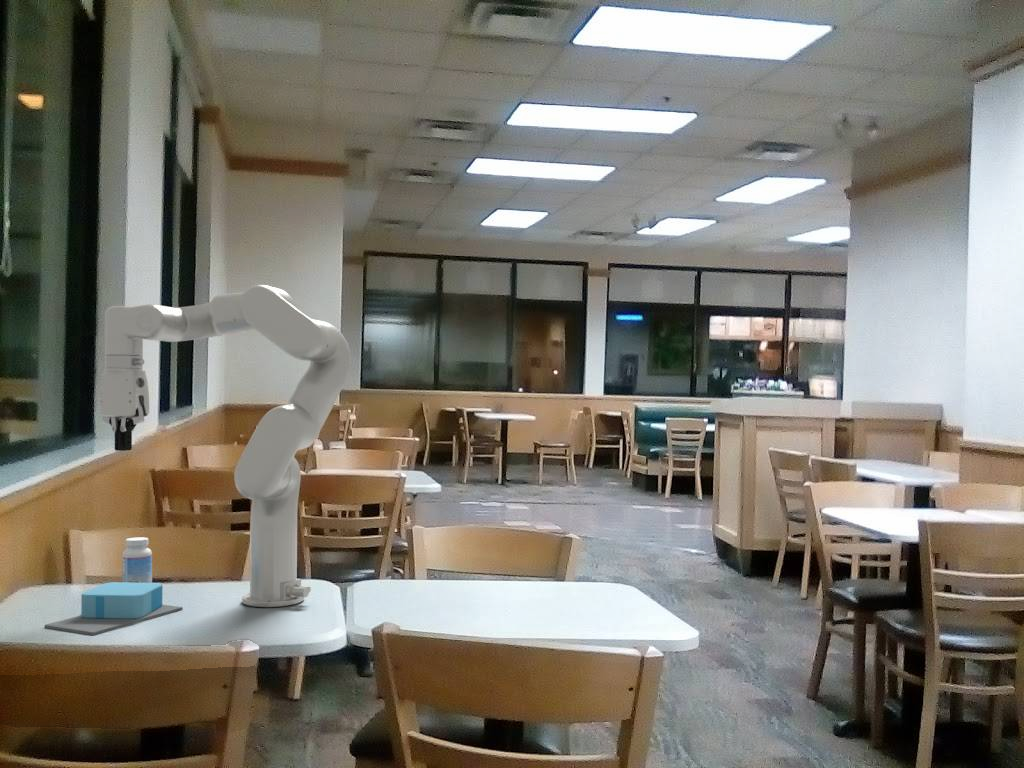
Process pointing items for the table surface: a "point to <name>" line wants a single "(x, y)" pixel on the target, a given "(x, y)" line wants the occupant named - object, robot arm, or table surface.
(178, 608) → the mat
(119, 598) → the data package
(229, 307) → the robot arm
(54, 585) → the table surface
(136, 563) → the pill bottle
